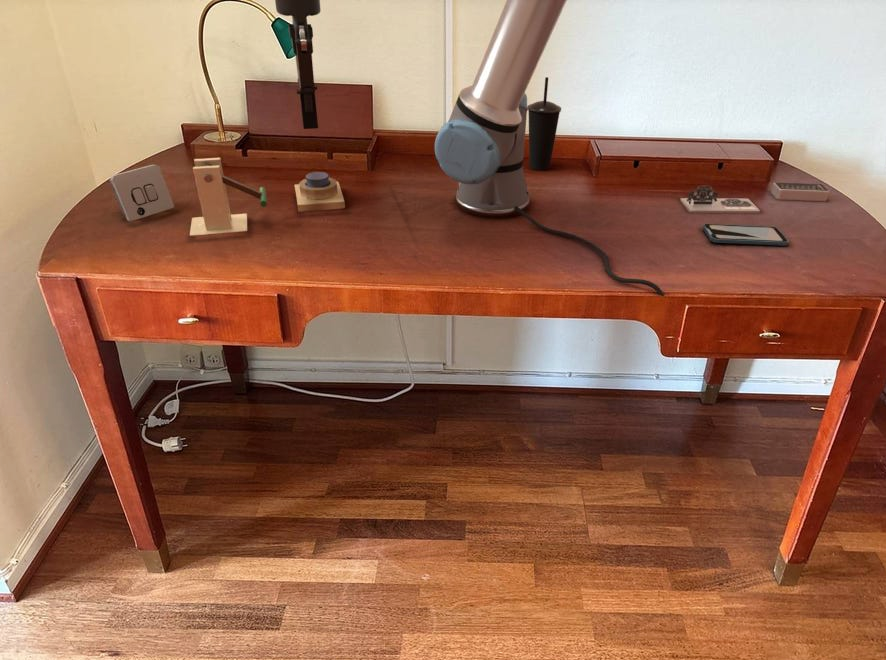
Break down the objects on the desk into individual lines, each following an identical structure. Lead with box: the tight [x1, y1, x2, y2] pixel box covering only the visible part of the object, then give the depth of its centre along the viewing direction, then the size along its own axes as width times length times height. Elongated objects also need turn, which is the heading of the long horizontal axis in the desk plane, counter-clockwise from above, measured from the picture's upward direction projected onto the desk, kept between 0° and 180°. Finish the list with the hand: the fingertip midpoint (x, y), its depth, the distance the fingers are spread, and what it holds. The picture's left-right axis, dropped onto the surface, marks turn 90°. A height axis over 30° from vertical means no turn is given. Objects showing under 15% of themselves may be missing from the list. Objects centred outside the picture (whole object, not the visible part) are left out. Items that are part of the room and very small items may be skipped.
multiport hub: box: [770, 182, 831, 202], centre depth 150 cm, size 4×11×2 cm, turn 89°
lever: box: [202, 162, 268, 208], centre depth 124 cm, size 12×7×2 cm, turn 108°
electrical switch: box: [108, 164, 175, 222], centre depth 130 cm, size 9×5×9 cm, turn 141°
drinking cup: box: [527, 76, 562, 171], centre depth 156 cm, size 8×8×20 cm
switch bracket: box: [189, 157, 248, 237], centre depth 125 cm, size 10×8×13 cm
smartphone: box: [702, 223, 790, 247], centre depth 132 cm, size 7×1×15 cm
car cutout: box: [680, 185, 761, 214], centre depth 144 cm, size 15×7×4 cm, turn 94°
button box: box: [294, 177, 346, 213], centre depth 138 cm, size 9×11×4 cm
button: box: [305, 171, 330, 188], centre depth 137 cm, size 4×4×2 cm
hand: (310, 127), depth 131 cm, fingers closed
